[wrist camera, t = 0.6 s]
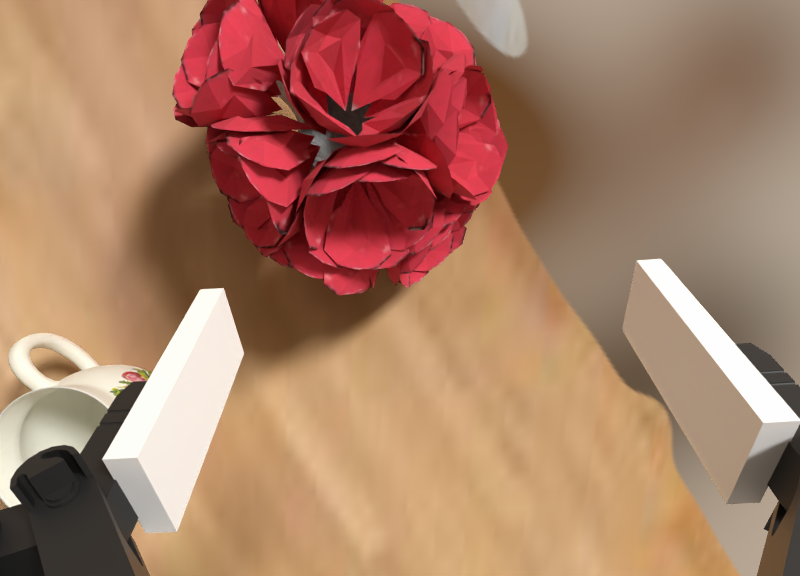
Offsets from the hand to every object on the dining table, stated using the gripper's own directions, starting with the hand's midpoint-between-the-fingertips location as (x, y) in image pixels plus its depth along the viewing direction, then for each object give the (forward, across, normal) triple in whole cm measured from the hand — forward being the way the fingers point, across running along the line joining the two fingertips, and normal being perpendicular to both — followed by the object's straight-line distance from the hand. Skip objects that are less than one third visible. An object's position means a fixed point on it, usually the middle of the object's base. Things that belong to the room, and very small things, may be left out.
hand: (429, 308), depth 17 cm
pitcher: (+23, +29, +26) cm, 45 cm away
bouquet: (+37, +7, +6) cm, 38 cm away
